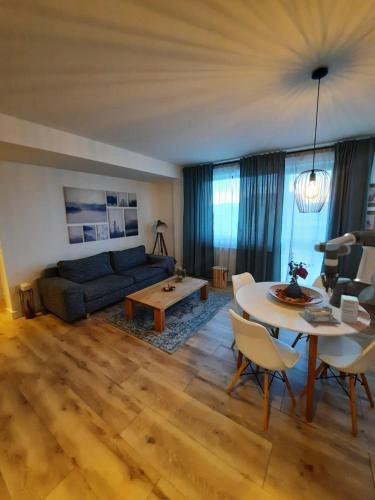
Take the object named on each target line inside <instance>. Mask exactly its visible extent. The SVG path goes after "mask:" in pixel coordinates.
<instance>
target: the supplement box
mask: <svg viewBox="0 0 375 500" xmlns="http://www.w3.org/2000/svg"><path fill="white" fill-rule="evenodd" d="M359 306H360V301H359V299H358V298H357V297H352V296H345V295H341V305H340V308H339V319H340V321H341V322H345V323H349V324H355V325H356V324H358V316H359V315H358V313H359Z"/></svg>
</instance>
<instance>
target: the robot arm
mask: <svg viewBox="0 0 375 500" xmlns="http://www.w3.org/2000/svg"><path fill="white" fill-rule="evenodd" d="M352 245H358V246H359V245H361V248H362V249H363V251H362V255H361V259H360V262H359V265H358V271H357V272H356V273H357V274H356V277H355V279H352V280H351V279H350V278H348V277H347V278H346V277H341V274H339V273H338V265H339V256H346V255H349V254H350V253H351V251H352V249H351V246H352ZM313 247H314V251H315V252H317V253H324V254H325V255H324V256H325V257H324V266H323V267H324V268H323V270H324V271H323V272H322V273H320V274H319V276H320V279H321V283H322V284H321V285H322V287H323V288H324V289H325V290H324V291H325V297H326V298H329V300H328V304H329V305H331V306H333V307H336V308H339V309H340V305H341V295H345V296H352V297H357V299H358V300H362V301H368V300H371V299H372V297H373V296H374V294H375V288H374V286H373V283H372V282H371V280H372V276H373V273H374V269H375V230H356V231H351V232H347V233H345V234H343V236H339V237H336V238H334V239H331V240H330V239H329V240H328V241H325V242H321V241H320V242H319V241H317V242H316V243H315V244H314V246H313Z"/></svg>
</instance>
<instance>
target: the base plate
mask: <svg viewBox="0 0 375 500" xmlns="http://www.w3.org/2000/svg"><path fill="white" fill-rule="evenodd" d="M325 305H326V306H325ZM325 305H324V306H322V308H326V311H325V312H330V313H331V314H330V315H320V316H314V313H312V312H322V311H320V310H311V309H307V307H308V306H304V312H301V311H299V312H297V313H298V314H299V316H300V317H301V318H302V319H303V320H304V321H306V322H307V324H341V322H340V321H339V320H338V319H336V318H335V317H334V314H333V307H332V306H330V304H329V305H327V304H325Z"/></svg>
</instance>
